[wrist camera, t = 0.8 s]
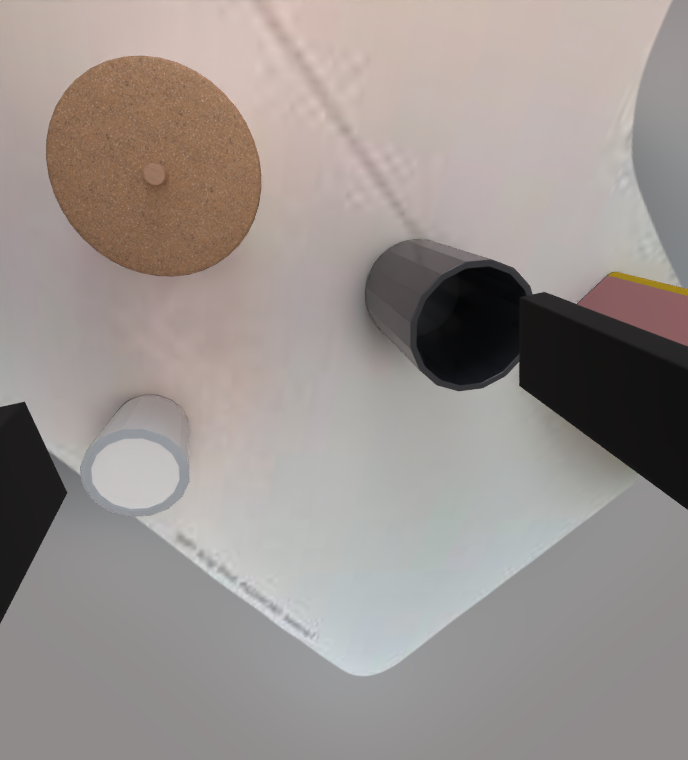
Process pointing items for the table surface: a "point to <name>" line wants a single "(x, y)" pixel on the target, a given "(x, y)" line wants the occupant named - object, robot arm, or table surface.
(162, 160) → the trinket box
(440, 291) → the pen cup
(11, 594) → the robot arm
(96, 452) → the white cylinder
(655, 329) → the alarm clock
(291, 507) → the table surface
